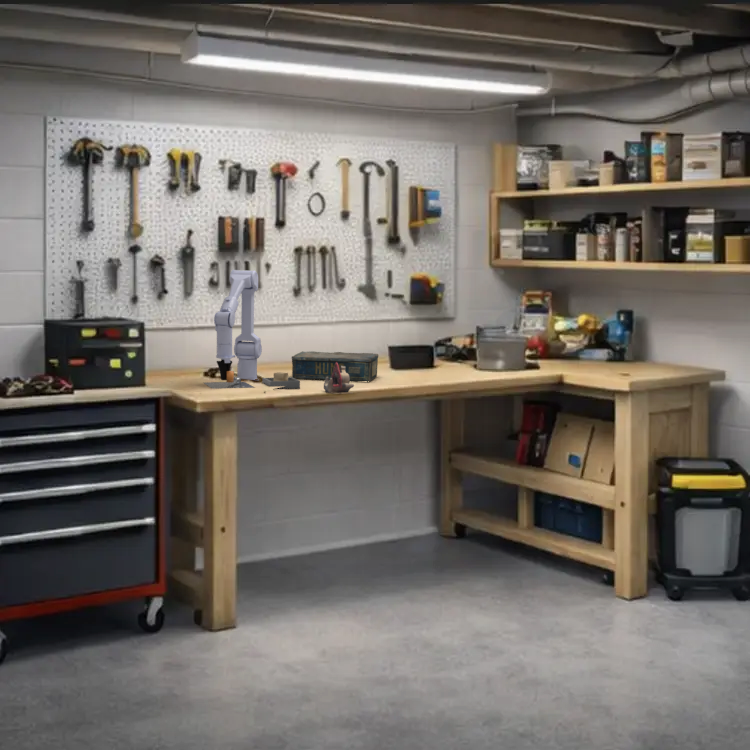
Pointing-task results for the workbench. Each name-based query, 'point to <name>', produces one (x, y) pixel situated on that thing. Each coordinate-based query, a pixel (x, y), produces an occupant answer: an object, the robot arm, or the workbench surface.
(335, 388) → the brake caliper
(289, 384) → the tray
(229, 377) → the crank
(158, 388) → the workbench surface
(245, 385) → the crank base
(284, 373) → the block
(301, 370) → the metal box
